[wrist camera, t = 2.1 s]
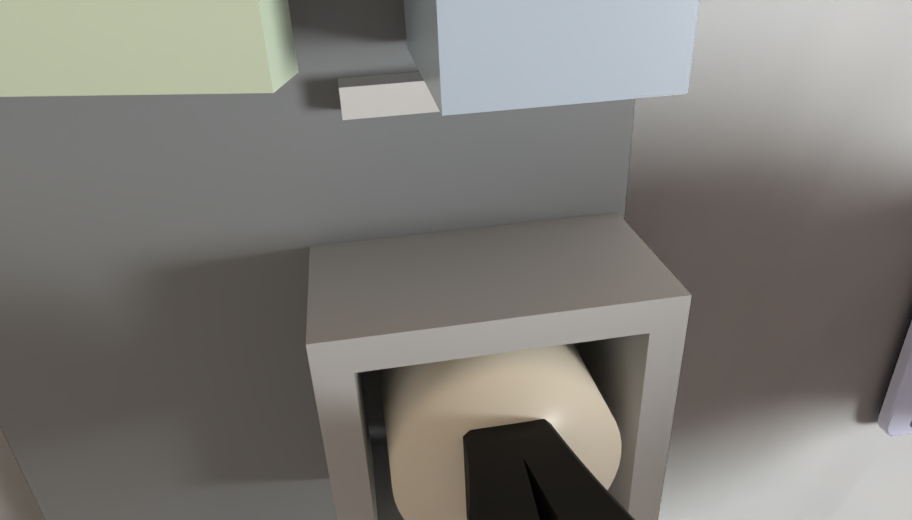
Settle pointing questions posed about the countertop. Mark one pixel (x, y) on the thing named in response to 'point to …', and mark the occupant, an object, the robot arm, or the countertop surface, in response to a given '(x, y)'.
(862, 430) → the countertop surface
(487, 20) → the block
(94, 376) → the panel
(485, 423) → the button
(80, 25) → the block
